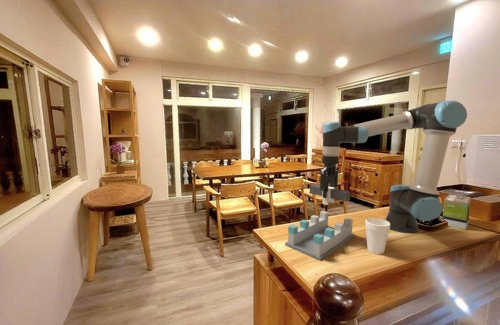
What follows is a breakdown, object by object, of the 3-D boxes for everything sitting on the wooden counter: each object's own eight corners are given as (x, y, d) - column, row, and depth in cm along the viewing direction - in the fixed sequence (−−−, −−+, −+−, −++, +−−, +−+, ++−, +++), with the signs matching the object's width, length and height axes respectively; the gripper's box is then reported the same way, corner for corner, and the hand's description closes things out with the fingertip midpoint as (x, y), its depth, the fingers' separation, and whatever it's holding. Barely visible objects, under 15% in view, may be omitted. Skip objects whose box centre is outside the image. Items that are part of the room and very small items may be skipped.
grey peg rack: (354, 236, 114) (355, 218, 113) (320, 260, 92) (320, 239, 91) (321, 225, 127) (322, 210, 126) (285, 245, 106) (285, 226, 104)
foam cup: (383, 246, 104) (385, 218, 102) (391, 257, 95) (393, 226, 93) (361, 244, 106) (362, 217, 104) (366, 254, 97) (368, 224, 95)
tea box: (446, 217, 137) (448, 193, 135) (469, 222, 130) (472, 197, 128) (441, 224, 127) (444, 198, 125) (466, 230, 120) (469, 202, 118)
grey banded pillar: (350, 200, 106) (350, 190, 105) (345, 202, 103) (345, 192, 102) (314, 192, 120) (314, 183, 119) (309, 193, 117) (309, 185, 116)
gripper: (332, 153, 117) (330, 198, 120) (313, 155, 106) (311, 205, 109) (347, 154, 112) (344, 201, 115) (327, 157, 100) (325, 208, 103)
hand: (328, 203), depth 112 cm, fingers closed on grey banded pillar, 5 cm apart
